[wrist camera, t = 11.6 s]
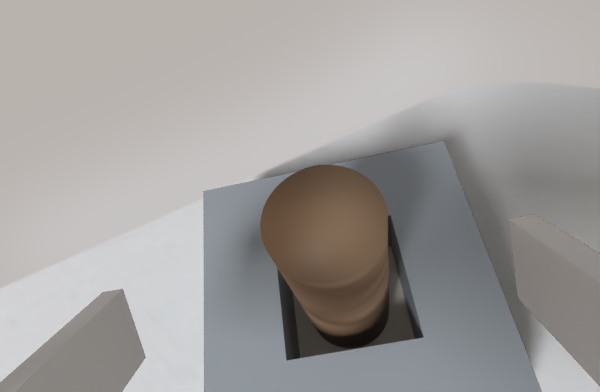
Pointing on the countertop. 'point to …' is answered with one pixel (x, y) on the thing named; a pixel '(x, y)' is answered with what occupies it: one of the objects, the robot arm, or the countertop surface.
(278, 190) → the pin
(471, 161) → the countertop surface
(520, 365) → the socket block
